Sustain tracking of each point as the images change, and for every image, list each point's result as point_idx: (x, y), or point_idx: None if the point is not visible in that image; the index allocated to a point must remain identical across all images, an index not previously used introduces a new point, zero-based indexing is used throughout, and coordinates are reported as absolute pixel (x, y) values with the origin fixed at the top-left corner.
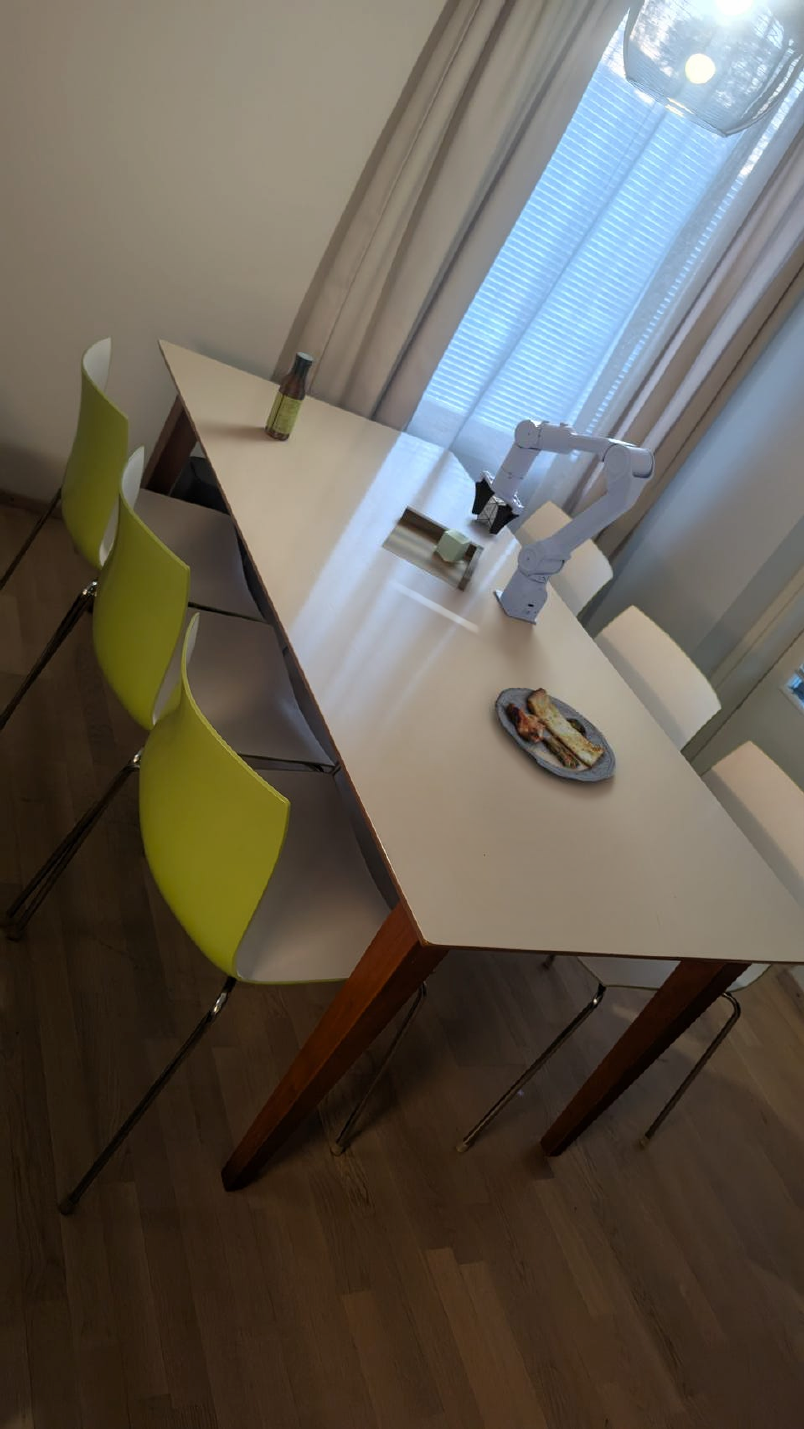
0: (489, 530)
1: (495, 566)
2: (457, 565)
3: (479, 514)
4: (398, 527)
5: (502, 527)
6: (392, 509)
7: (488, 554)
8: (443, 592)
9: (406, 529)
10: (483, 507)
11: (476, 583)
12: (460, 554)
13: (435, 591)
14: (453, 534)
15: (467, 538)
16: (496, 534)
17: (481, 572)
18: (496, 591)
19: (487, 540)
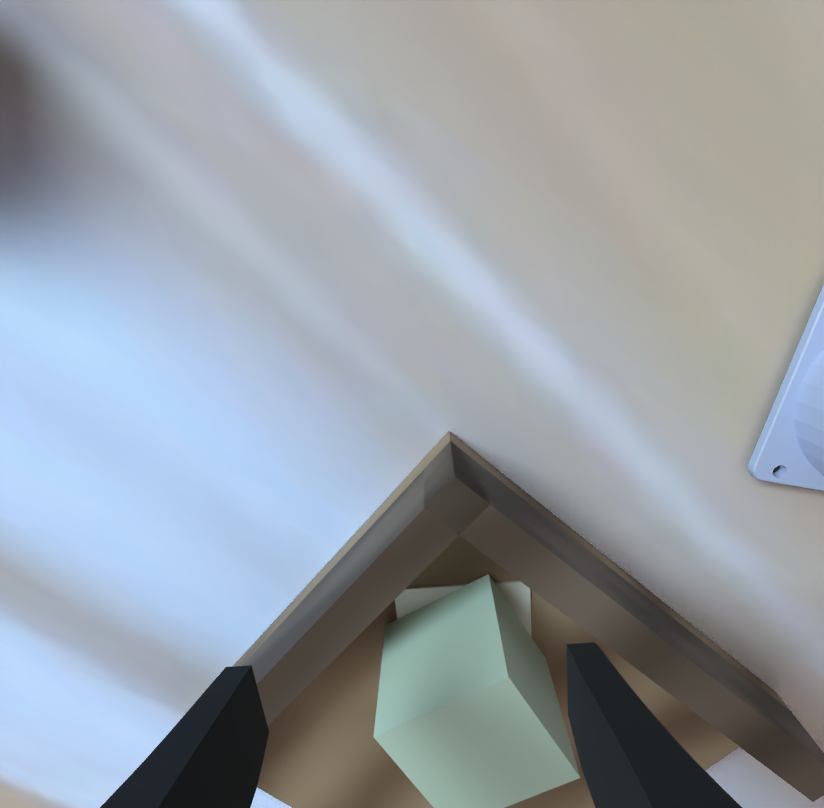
0: (576, 736)
1: (452, 277)
2: (558, 631)
3: (247, 672)
4: (292, 794)
5: (653, 727)
6: (88, 713)
7: (308, 253)
8: (754, 766)
9: (293, 764)
10: (205, 748)
11: (668, 546)
12: (527, 653)
13: (748, 797)
14: (467, 784)
15: (487, 701)
16: (599, 649)
17: (550, 447)
18: (772, 476)
19: (94, 138)
